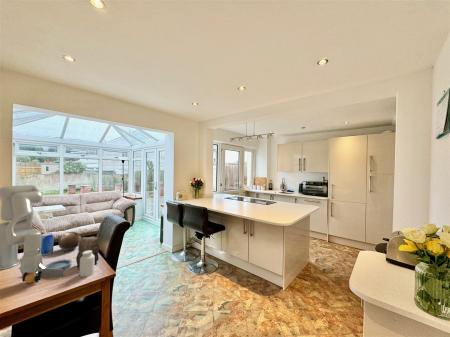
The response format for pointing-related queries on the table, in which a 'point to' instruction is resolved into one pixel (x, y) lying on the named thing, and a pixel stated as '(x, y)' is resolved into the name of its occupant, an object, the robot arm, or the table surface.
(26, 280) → the ball
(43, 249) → the beer can
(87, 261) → the pill bottle
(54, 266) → the bowl
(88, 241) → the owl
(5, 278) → the table surface
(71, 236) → the wooden sphere
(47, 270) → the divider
